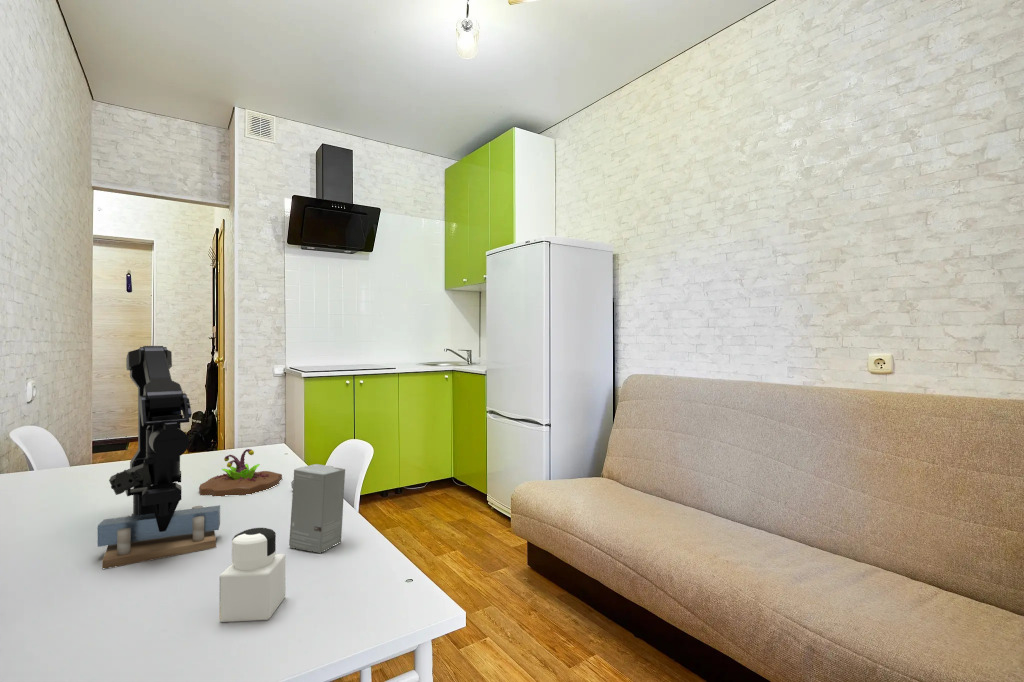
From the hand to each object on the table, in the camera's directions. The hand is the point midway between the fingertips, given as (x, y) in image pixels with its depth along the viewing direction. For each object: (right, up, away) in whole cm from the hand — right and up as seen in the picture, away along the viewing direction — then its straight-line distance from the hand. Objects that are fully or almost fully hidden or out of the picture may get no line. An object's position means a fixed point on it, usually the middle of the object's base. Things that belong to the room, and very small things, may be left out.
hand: (163, 527), depth 103 cm
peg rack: (0, -4, 0) cm, 4 cm away
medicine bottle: (+31, -4, -24) cm, 39 cm away
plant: (-8, -5, +45) cm, 45 cm away
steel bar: (0, -1, 0) cm, 1 cm away
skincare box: (+31, -4, +1) cm, 31 cm away
